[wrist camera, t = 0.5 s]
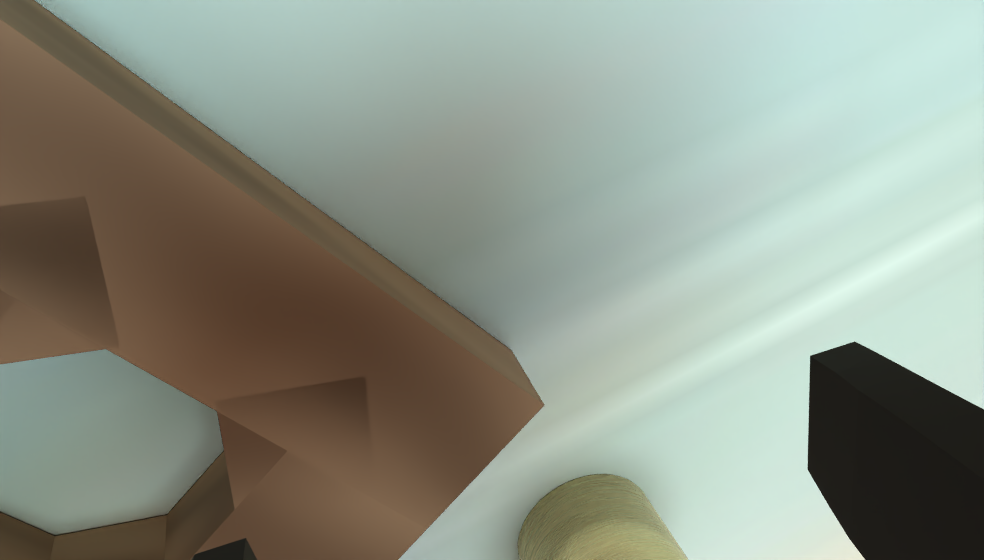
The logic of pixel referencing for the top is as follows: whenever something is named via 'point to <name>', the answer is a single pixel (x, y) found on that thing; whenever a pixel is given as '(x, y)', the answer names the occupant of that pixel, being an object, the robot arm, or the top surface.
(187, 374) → the jig plate
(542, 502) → the cylinder
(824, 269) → the top surface
